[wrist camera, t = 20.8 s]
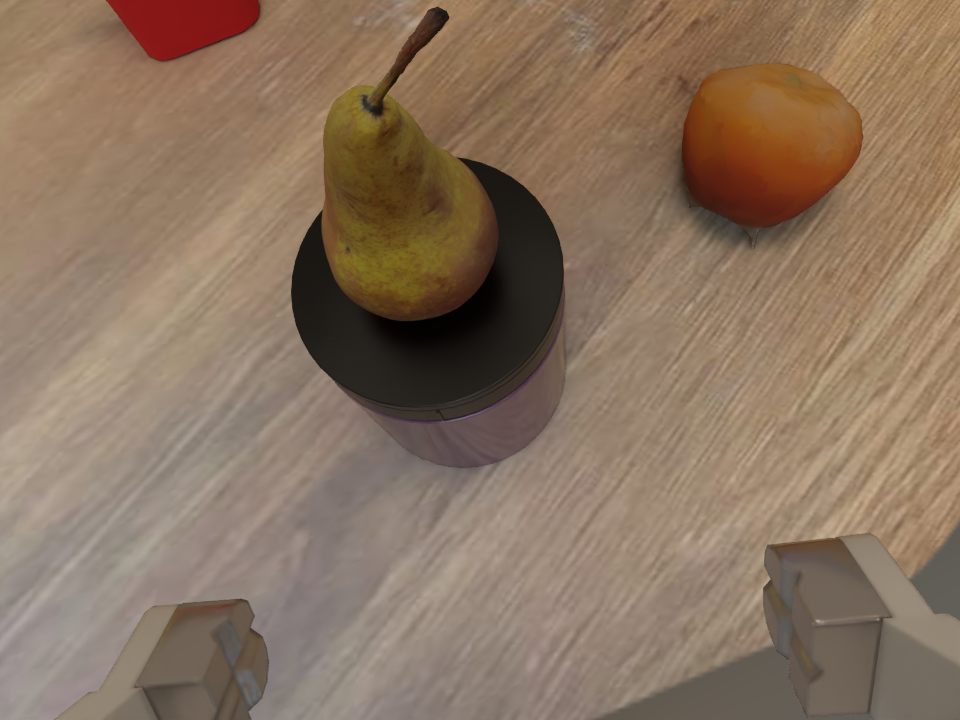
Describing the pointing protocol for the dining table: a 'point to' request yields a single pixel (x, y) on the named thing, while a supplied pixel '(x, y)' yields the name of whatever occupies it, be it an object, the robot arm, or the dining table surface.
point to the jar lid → (442, 320)
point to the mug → (183, 23)
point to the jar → (486, 419)
